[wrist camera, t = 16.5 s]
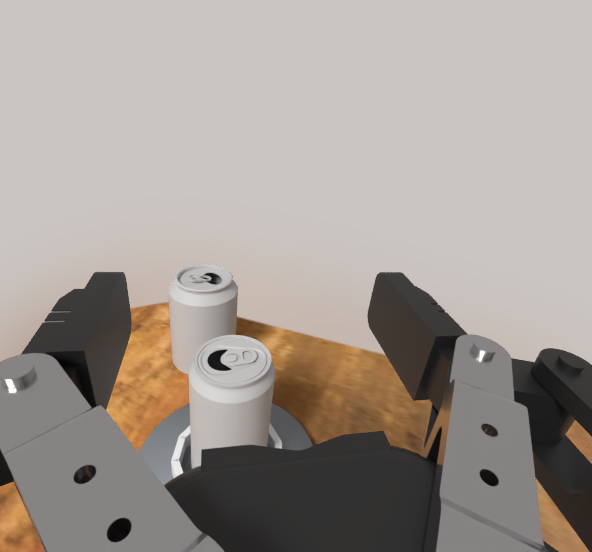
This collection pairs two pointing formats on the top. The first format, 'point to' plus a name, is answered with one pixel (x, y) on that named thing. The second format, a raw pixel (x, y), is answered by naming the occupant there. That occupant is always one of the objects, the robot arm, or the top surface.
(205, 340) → the can
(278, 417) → the dock
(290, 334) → the top surface
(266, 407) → the beverage can
